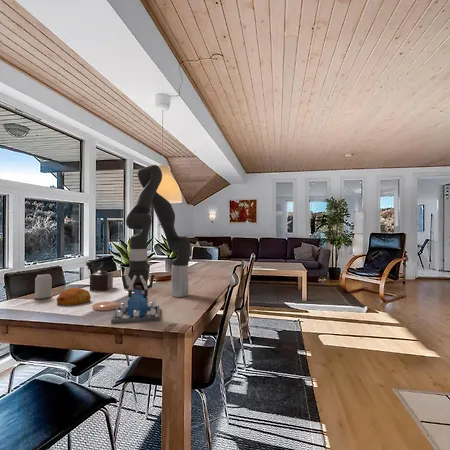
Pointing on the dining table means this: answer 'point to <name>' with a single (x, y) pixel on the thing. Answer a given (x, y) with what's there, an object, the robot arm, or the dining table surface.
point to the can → (43, 286)
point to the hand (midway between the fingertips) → (137, 297)
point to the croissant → (73, 296)
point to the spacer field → (135, 314)
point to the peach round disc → (105, 306)
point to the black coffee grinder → (100, 278)
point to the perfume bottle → (138, 302)
